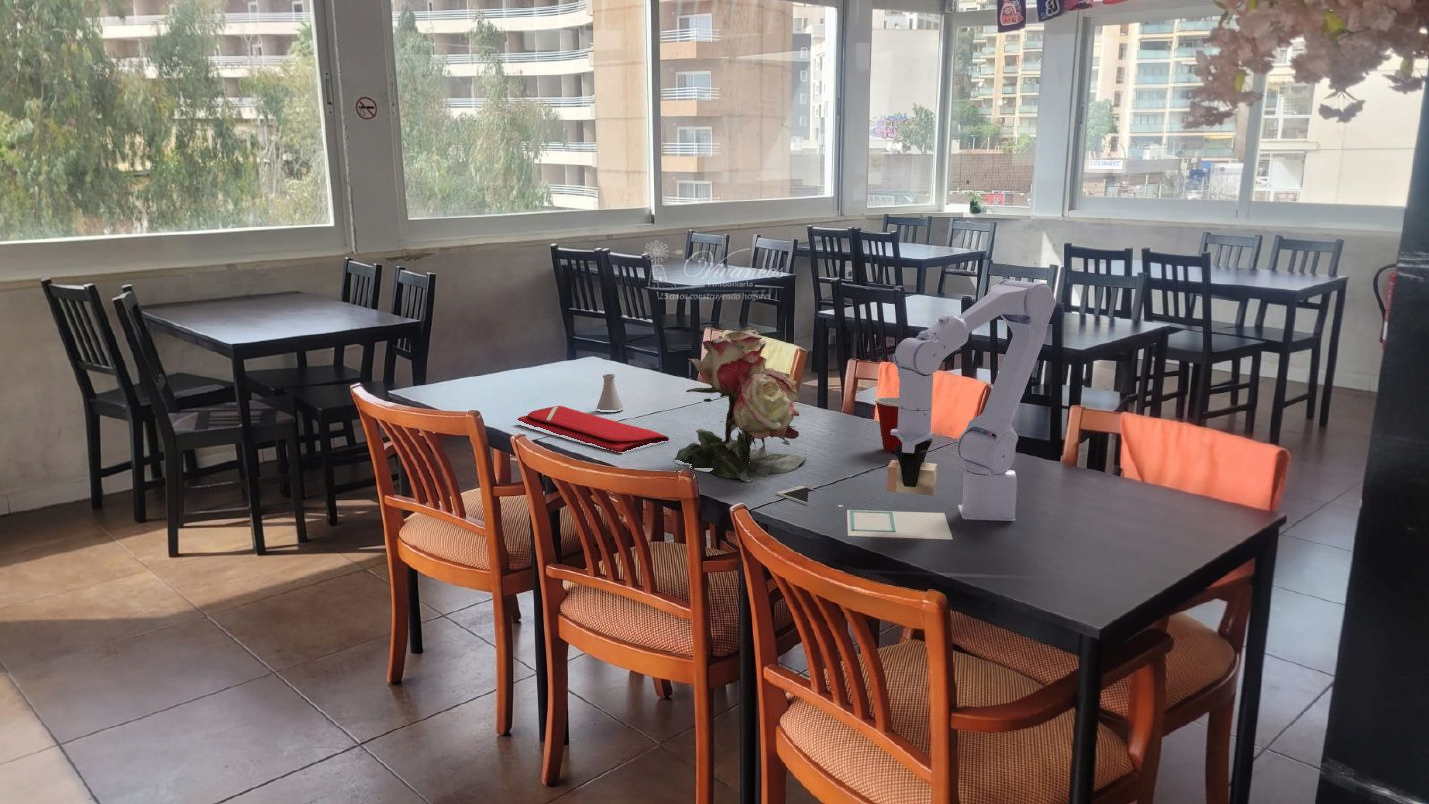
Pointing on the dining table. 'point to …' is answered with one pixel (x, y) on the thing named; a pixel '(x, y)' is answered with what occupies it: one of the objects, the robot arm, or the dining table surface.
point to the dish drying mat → (592, 428)
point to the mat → (898, 524)
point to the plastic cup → (888, 421)
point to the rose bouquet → (744, 409)
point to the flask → (609, 395)
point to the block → (924, 484)
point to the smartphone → (797, 494)
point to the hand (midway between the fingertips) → (912, 482)
